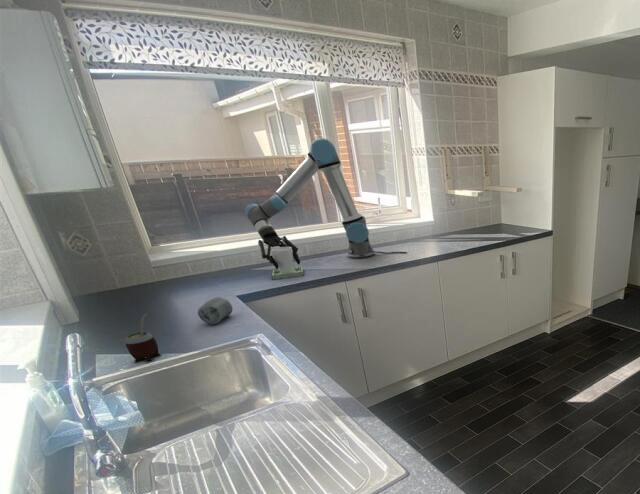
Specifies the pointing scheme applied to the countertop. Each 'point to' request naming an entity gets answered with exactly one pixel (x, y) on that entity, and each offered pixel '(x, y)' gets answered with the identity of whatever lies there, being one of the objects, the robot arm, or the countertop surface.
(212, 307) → the grey rolled towel
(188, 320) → the countertop surface
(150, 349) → the mate gourd
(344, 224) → the robot arm
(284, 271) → the foam cup
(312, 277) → the countertop surface
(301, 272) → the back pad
